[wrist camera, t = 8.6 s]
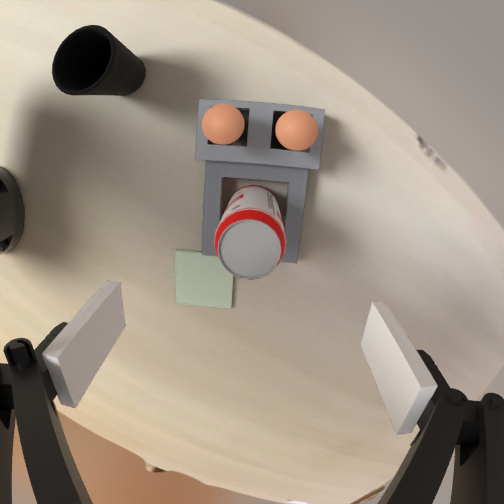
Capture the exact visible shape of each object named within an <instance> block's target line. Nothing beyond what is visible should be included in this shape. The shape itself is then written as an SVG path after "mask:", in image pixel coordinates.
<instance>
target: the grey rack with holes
mask: <svg viewBox="0 0 504 504" xmlns="http://www.w3.org/2000/svg"><path fill="white" fill-rule="evenodd" d="M218 104H229V105H232V106H234V107H235V108H237V109H238V110H239V111H250V112H249V124H248V137H247V146H242V145H227V144H225V145H220V144H213V142H211V141H210V140H209V139H208V138H207V137H206V136H205V135H204V133H203V130H202V119H203V117H204V115H205V113H206V112H207V111H208V110H209V109H210V108H211V107H213V106H215V105H218ZM291 110H302V111H305V112H307V113H309V114H310V115H311V116H312V117H313V118H314V119H315V121H316V123H317V126H318V135H317V138H316V141H315V142H314V143H313V145H311V146H310V147H309V148H307V149H305V151H294V150H288V149H278V148H270V145H271V134H272V122H273V113H277V114H284V113H286V112H288V111H291ZM324 116H325V109H318V108H311V107H303V106H295V105H286V104H276V103H265V102H252V101H236V100H212V99H199V108H198V121H197V136H196V152H195V160H206V167H205V185H204V207H203V233H202V255H206V256H217V255H216V251H215V246H214V239H215V232H216V229H217V227H218V225H219V223H220V221H221V218H222V201H223V184H224V177H232V178H245V179H258V180H269V181H280V182H288V187H287V196H286V206H285V215H284V224H283V226H284V230H285V236H286V248H285V253H284V255H283V257H282V259H281V261H280V262H290V263H297V258H298V251H299V243H300V236H301V228H302V220H303V212H304V204H305V195H306V186H307V177H308V169H317V170H319V166H320V157H321V147H322V137H323V127H324Z"/></svg>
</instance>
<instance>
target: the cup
mask: <svg viewBox="0 0 504 504" xmlns="http://www.w3.org/2000/svg"><path fill="white" fill-rule="evenodd" d="M52 74H53V80H54V82H55V84H56V86H57V87H58V88H59V89H60V90H61V91H62V92H64V93H66V94H69V95H129V94H132V93H133V92H135V91H136V90H137V89H139V88H140V86H141V85H142V83H143V81H144V79H145V75H146V70H145V66H144V64H143V62H142V61H141V60H140V59H138V58H137V57H136V56H135V55H134V54H133V53H132V52H131V51H130V50H129V49H128V48H127V47H125V46H124V45H123V44H122V43H121V42H120V41H119V40H118V39H117V38H115V37H114V36H113V35H112V34H111V33H110V32H109V31H108V30H106V29H105V28H103V27H101V26H98V25H89V26H84V27H82V28H79V29H77V30H75V31H74V32H73V33H71V34H70V35H69V36H68V37H67V38H66V39H65V40H64V41H63V42H62V44H61V45H60V46H59V48H58V50H57V52H56V54H55V57H54V61H53V65H52Z"/></svg>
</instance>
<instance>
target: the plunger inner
mask: <svg viewBox="0 0 504 504" xmlns="http://www.w3.org/2000/svg"><path fill="white" fill-rule="evenodd" d="M244 126H245V122H244V118H243V116H242V114H241V113H240V111H239V110H238V109H237V108H235V107H234V106H232V105H229V104H218V105H215V106H213V107H211V108H210V109H209V110H208V111H207V112H206V113H205V115H204V117H203V119H202V130H203V133H204V135H205V136H206V137H207V138H208V139H209V140H210V141H211V142H213V143H216V144H220V145H225V144H230V143H233V142H234V141H236V140H237V139H238V138H239V137H240V136H241V135H242V133H243V131H244Z"/></svg>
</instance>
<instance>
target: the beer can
mask: <svg viewBox="0 0 504 504" xmlns="http://www.w3.org/2000/svg"><path fill="white" fill-rule="evenodd" d="M214 246H215V251H216V255H217V257H218V258H219V260H220V262H221V263H222V265H223V267H224V268H225V269H226V270H227V271H228V272H229V273H230V274H232V275H234V276H236V277H238V278H241V279H248V280H252V279H258V278H261V277H263V276H265V275H268V274H269V273H270V272H271V271H272V270H273V269H274V268H275V267H276V266H277V265H278V264H279V262H280V261H281V259H282V257H283V255H284V253H285V248H286V236H285V230H284V226H283V222H282V218H281V214H280V210H279V206H278V202H277V200H276V198H275V196H274V195H273V194H272V193H271V192H270V191H269V190H268V189H266V188H264V187H262V186H258V185H249V186H244V187H243V188H241V189H239V190H237V191H236V192H235V193H234V194H233V196H232V197H231V200H230V202H229V204H228V206H227V208H226V210H225V212H224V214H223V217H222V219H221V221H220V223H219V225H218V227H217V229H216V232H215V239H214Z"/></svg>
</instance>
